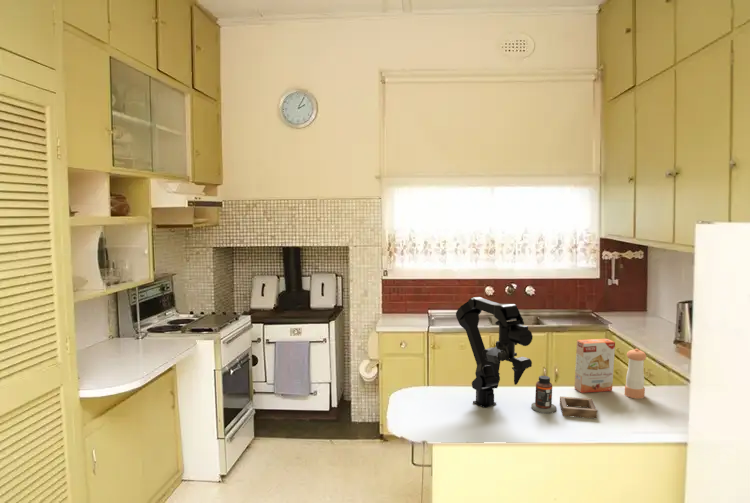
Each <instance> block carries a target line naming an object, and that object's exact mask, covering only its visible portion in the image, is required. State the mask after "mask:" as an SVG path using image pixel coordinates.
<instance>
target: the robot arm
mask: <svg viewBox="0 0 750 503" xmlns="http://www.w3.org/2000/svg"><path fill="white" fill-rule="evenodd" d="M482 311H483V312H484V313H487V314H491V315H493V317H494V318H495V319H497V321H496V322H495V323H494V324H495V325H496V326H498V341H496V342H495V346H494V347H488V348H486V346H485V344H484V340H483V339H482V335H481V332H480V329H479V322H480V316H479V315H480V314H481V313H482ZM455 317H456V319H457V321H458V324H459V326H461V327H462V329H464V330H465V332H466V335H467V338H468V341H469V345H470V347H471V351H472V354H473V358H474V360H475V364H476V367H475V368H476V369H475V373H474V374H475V378H474V379H473V380H472V381H471V387H472V389H473V390H475V400H473V401H472V403H473V404H475V405H477V406H480V407H482V408H484V409H485V408H488V407H491V406H494V405H497V402H496V401H495V393H494V389H498V386H499V383H500V380H501V377H500V375H501V373H500V366H501V362H504V361H506V362H509V363H512V364H511V365H512V367H511V369H512V371H513V385H515V386H516V385H518V383H519V381H520V379H521V378H522V376H523V374H524V372H525V370H527V369H529V368H531V367H532V366H533V365H532V364H533V362H532V360H531V359H530V358H528V357H525V356H519V357H517V356H518V352H515V351H516V348H515V347H516V346H518V345H521V346H522V347H528V346H529V345H530V344H531V343H532V342H533V338H534V337H533V334H532V331H531V330H530V329H529V326H528V325H525V321H524V318H523V317H522V315H521V313H520V310H519V308H518V306H517V305H516V304H515V303H499V302H496V301H492V300H489V299H486V298H483V297H481V296H475V297H470V298H469V299H468V300H467V301H466V302H465V303H463V304H462V305H460V306H459V307H458V308H457V310H456V312H455Z"/></svg>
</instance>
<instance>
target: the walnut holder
mask: <svg viewBox="0 0 750 503" xmlns="http://www.w3.org/2000/svg"><path fill="white" fill-rule="evenodd" d="M567 405H568V406H567ZM559 406H560V410H562V411H561V414H562V417H570V416H574V417H573V418H582V417H584V418H585V419H594V418H597V419H598V410H597V407H596V405H595V403H594V400H593V398H589V397H588V398H586V397H572V396H559ZM574 406H581V407H574ZM587 407H588V408H587ZM584 418H583V419H584Z"/></svg>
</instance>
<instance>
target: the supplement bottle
mask: <svg viewBox="0 0 750 503" xmlns="http://www.w3.org/2000/svg"><path fill="white" fill-rule="evenodd" d="M534 399H535V400H534V403H535V405H536V406H537V407H539V408H543V409H548V408H550V407H551V405H552V404H553V403H552V402H553V384H552V383H551V378H550V377H549V375H540V376H538V381H537V382H536V383H535V397H534Z"/></svg>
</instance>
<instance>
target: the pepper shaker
mask: <svg viewBox="0 0 750 503" xmlns="http://www.w3.org/2000/svg"><path fill="white" fill-rule="evenodd" d="M626 357H627V358H628V366H627V367H628V368H627V372H626V375H625V385H624V395H625V396H626V397H628V398H631V399H636V400H637V399H644V398H645V392H646V391H645V390H646V388H645V375H644V374H645V373H644V365H645V364H644V363H645V362H644V361H645V360H646V359H647V354H646V353H645V351H642V350H640V349H639V348H634V349H631V350H630V349H629V350H628V351H627V353H626Z"/></svg>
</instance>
